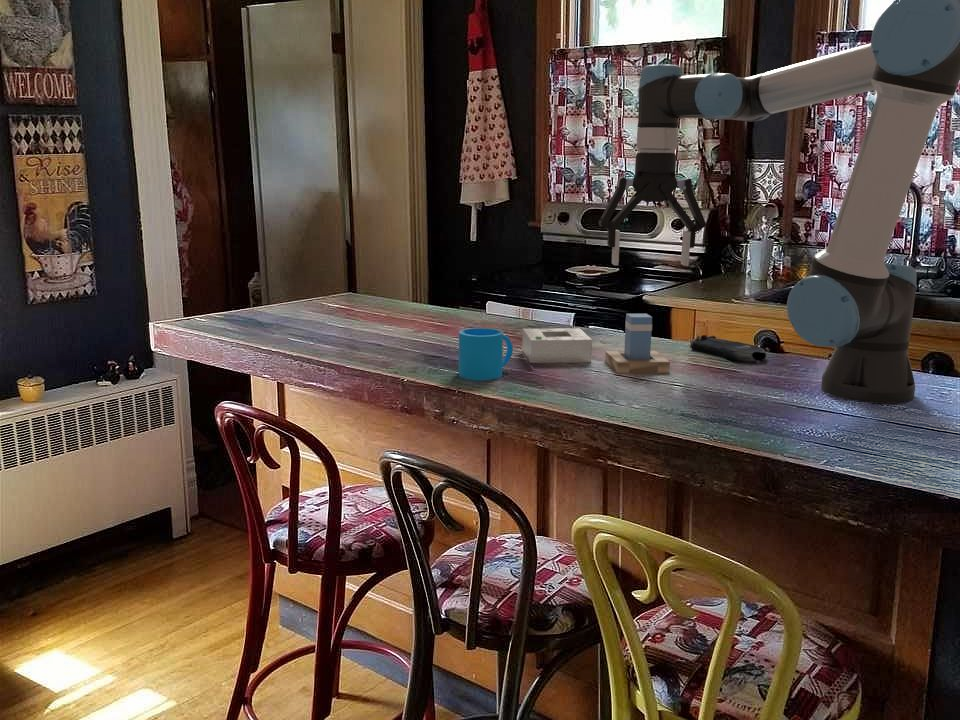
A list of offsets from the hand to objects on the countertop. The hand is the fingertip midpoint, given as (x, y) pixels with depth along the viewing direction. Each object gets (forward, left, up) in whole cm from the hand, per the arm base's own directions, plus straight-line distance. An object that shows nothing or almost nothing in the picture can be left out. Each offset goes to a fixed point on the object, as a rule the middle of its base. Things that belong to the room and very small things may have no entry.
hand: (649, 265), depth 176 cm
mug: (-6, +32, -20) cm, 38 cm away
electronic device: (+7, -20, -20) cm, 30 cm away
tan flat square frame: (-4, +3, -20) cm, 20 cm away
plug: (-4, +3, -19) cm, 20 cm away
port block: (+6, +17, -20) cm, 27 cm away
